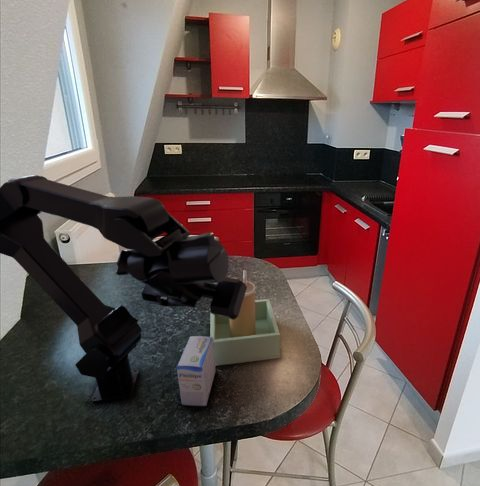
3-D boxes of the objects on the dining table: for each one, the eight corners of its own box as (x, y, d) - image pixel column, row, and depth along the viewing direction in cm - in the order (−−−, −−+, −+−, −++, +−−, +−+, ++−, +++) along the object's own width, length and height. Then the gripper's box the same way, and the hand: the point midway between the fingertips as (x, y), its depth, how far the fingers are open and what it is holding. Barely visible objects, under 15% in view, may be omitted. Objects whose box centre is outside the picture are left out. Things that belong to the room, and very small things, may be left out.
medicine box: (193, 371, 62) (189, 335, 59) (216, 372, 62) (213, 335, 59) (181, 406, 55) (175, 366, 52) (207, 407, 55) (203, 366, 51)
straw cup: (257, 341, 69) (256, 278, 64) (230, 344, 68) (226, 280, 63) (254, 325, 75) (252, 265, 69) (229, 328, 74) (225, 267, 68)
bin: (279, 358, 66) (279, 334, 64) (212, 366, 63) (210, 342, 61) (269, 319, 78) (269, 298, 76) (212, 325, 76) (210, 304, 74)
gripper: (237, 233, 49) (269, 274, 61) (143, 226, 56) (190, 264, 69) (212, 303, 44) (253, 332, 57) (114, 285, 51) (170, 314, 64)
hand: (214, 307), depth 62 cm, fingers open, 9 cm apart
